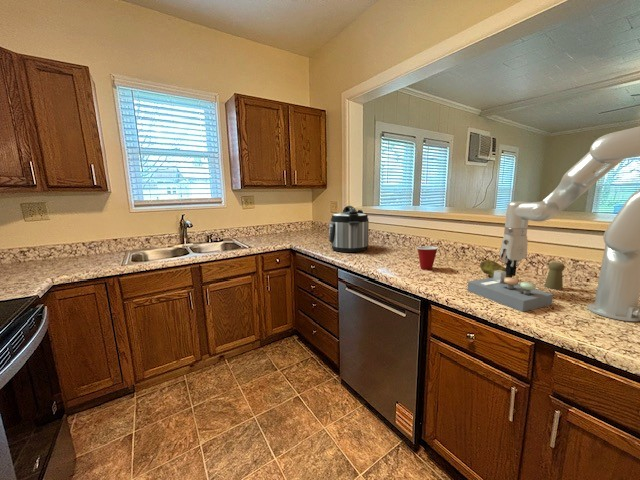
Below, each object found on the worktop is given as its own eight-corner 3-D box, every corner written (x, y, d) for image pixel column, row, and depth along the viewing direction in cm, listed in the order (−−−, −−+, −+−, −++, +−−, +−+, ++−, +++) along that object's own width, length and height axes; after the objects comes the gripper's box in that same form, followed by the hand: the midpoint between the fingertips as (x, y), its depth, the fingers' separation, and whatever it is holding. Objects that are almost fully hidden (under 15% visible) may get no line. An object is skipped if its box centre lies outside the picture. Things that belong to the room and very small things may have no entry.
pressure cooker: (339, 244, 216) (339, 204, 211) (373, 247, 203) (374, 205, 198) (322, 251, 190) (321, 206, 185) (360, 255, 177) (361, 207, 172)
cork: (544, 284, 119) (547, 260, 118) (562, 287, 116) (566, 262, 114) (544, 288, 115) (547, 263, 113) (563, 291, 111) (567, 265, 109)
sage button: (537, 297, 97) (538, 285, 96) (529, 298, 95) (530, 286, 95) (524, 292, 101) (525, 281, 100) (516, 294, 99) (517, 282, 99)
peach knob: (519, 291, 102) (521, 280, 102) (511, 293, 101) (513, 281, 100) (508, 287, 106) (509, 276, 106) (500, 289, 105) (501, 278, 104)
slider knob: (505, 281, 110) (506, 271, 110) (500, 282, 109) (501, 272, 109) (498, 279, 113) (499, 269, 112) (493, 279, 112) (494, 270, 111)
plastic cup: (427, 265, 152) (428, 244, 150) (441, 270, 142) (442, 248, 140) (411, 266, 149) (412, 245, 147) (424, 272, 139) (425, 249, 137)
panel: (551, 304, 98) (553, 293, 97) (522, 311, 92) (523, 300, 92) (494, 285, 118) (495, 276, 117) (467, 290, 113) (468, 281, 112)
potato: (503, 282, 122) (505, 265, 120) (476, 275, 133) (477, 259, 132) (514, 280, 125) (516, 263, 124) (486, 273, 137) (488, 257, 135)
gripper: (512, 234, 104) (506, 279, 107) (537, 232, 109) (531, 275, 112) (493, 231, 111) (489, 274, 114) (518, 229, 116) (513, 270, 119)
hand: (510, 275), depth 113 cm, fingers closed
